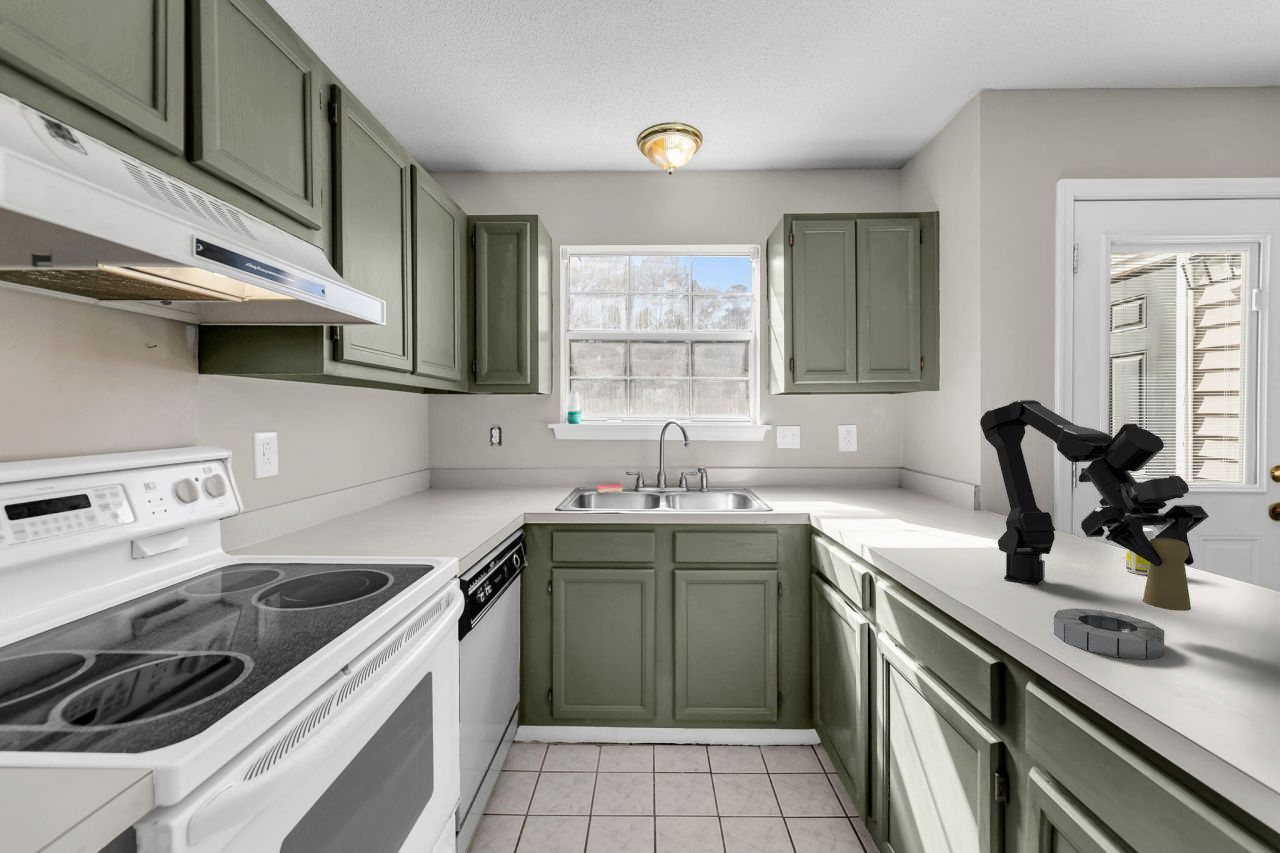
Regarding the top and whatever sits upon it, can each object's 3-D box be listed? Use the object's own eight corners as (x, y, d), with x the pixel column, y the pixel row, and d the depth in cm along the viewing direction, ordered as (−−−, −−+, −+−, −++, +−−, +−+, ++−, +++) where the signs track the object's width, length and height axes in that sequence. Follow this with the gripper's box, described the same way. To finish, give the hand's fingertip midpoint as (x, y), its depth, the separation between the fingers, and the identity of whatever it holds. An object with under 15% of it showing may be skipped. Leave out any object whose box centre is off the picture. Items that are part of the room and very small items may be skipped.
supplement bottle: (1163, 575, 133) (1164, 530, 133) (1144, 577, 132) (1145, 532, 132) (1138, 568, 138) (1138, 525, 138) (1119, 570, 137) (1120, 527, 137)
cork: (1132, 598, 100) (1134, 535, 100) (1166, 597, 100) (1168, 534, 100) (1165, 611, 94) (1167, 543, 94) (1202, 610, 94) (1203, 542, 94)
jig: (1048, 642, 96) (1048, 624, 96) (1061, 619, 106) (1061, 603, 106) (1162, 667, 87) (1162, 647, 86) (1165, 639, 97) (1165, 621, 97)
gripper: (1095, 460, 100) (1154, 539, 89) (1198, 458, 101) (1269, 536, 90) (1059, 498, 108) (1109, 575, 97) (1154, 496, 109) (1214, 572, 98)
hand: (1175, 564), depth 95 cm, fingers closed on cork, 5 cm apart
